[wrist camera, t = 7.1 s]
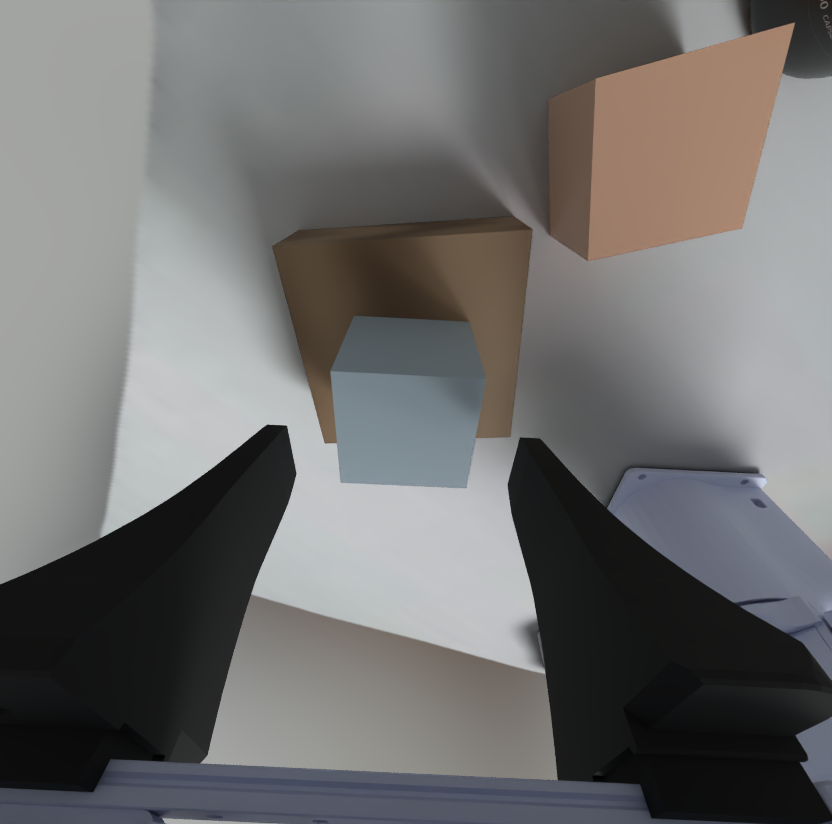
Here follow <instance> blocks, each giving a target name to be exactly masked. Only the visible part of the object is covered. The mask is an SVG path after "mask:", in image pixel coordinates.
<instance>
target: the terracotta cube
mask: <svg viewBox="0 0 832 824" xmlns="http://www.w3.org/2000/svg"><path fill="white" fill-rule="evenodd" d="M794 25H795V23H791V24H788V25H784V26H780V27H777V28H773V29H770V30H766V31H763V32H759V33H756V34H752V35H748V36H745V37H741V38H738V39H734V40H731V41H727V42H724V43H720V44H716V45H713V46H709V47H706V48H702V49H699V50H695V51H692V52H688V53H684V54H681V55H677V56H674V57H670V58H667V59H663V60H660V61H656V62H653V63H649V64H645V65H642V66H638V67H635V68H631V69H628V70H624V71H621V72H617V73H613V74H610V75H606V76H603V77H599V78H596V79H593V80H591V81H589V82H586V83H584V84H582V85H580V86H577V87H575V88H573V89H570V90H568V91H566V92H563V93H561V94H559V95H556V96H554V97H552V98H550V99H548V116H549V191H550V236H551V237H553V238H554V239H556V240H557V241H559V242H560V243H562V244H563V245H565V246H566V247H568V248H569V249H571V250H572V251H574V252H575V253H577V254H578V255H580V256H581V257H583V258H584V259H585V260H587V261H591V260H596V259H600V258H605V257H610V256H614V255H619V254H624V253H628V252H633V251H638V250H642V249H647V248H652V247H656V246H661V245H666V244H670V243H675V242H680V241H684V240H689V239H694V238H698V237H703V236H708V235H712V234H717V233H722V232H726V231H731V230H736V229H740V228H742V227H743V223H744V219H745V215H746V211H747V207H748V203H749V200H750V196H751V192H752V188H753V184H754V180H755V176H756V172H757V168H758V165H759V161H760V157H761V153H762V149H763V145H764V141H765V137H766V134H767V130H768V126H769V122H770V118H771V114H772V110H773V106H774V102H775V99H776V95H777V91H778V87H779V83H780V79H781V75H782V71H783V67H784V64H785V60H786V56H787V52H788V48H789V44H790V40H791V36H792V33H793V29H794Z"/></svg>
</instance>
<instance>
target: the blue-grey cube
mask: <svg viewBox="0 0 832 824" xmlns="http://www.w3.org/2000/svg"><path fill="white" fill-rule="evenodd" d="M330 373H331V384H332V394H333V405H334V416H335V427H336V437H337V448H338V459H339V470H340V480H341V483H360V484H382V485H404V486H426V487H448V488H467V482H468V477H469V471H470V466H471V460H472V455H473V449H474V444H475V438H476V433H477V427H478V422H479V416H480V411H481V405H482V400H483V394H484V389H485V383H486V376H485V373H484V369H483V366H482V363H481V359H480V356H479V352H478V349H477V345H476V342H475V338H474V335H473V331H472V328H471V325H470V322H463V321H445V320H426V319H407V318H389V317H370V316H354V317H353V319H352V322H351V324H350V326H349V329H348V331H347V333H346V336H345V338H344V340H343V343H342V345H341V347H340V350H339V352H338V354H337V357H336V359H335V361H334V364H333V366H332V368H331V371H330Z"/></svg>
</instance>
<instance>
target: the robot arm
mask: <svg viewBox="0 0 832 824" xmlns="http://www.w3.org/2000/svg"><path fill="white" fill-rule="evenodd" d="M295 477H296V469H295V464H294V459H293V454H292V449H291V444H290V439H289V434H288V429H287V426H283V425H266V426H265V427H264V428H262V429H261V430H260V431H258V432H257V433H256V434H255V435H253V436H252V437H251V438H250V439H249V440H247V441H246V442H245V443H244V444H242V445H241V446H240V447H239V448H238V449H236V450H235V451H234V452H233V453H231V454H230V455H229V456H227V457H226V458H225V459H224V460H222V461H221V462H220V463H219V464H217V465H216V466H215V467H213V468H212V469H211V470H209V471H208V472H207V473H205V474H204V475H202V476H201V477H200V478H198V479H197V480H196V481H194V482H193V483H191V484H190V485H189V486H187V487H186V488H185V489H183V490H182V491H180V492H179V493H177V494H176V495H174V496H173V497H171V498H170V499H168V500H167V501H165V502H163V503H162V504H160V505H159V506H157V507H155V508H154V509H152V510H150V511H149V512H147V513H146V514H144V515H142V516H140V517H139V518H137V519H135V520H133V521H132V522H130V523H128V524H126V525H124V526H122V527H121V528H119V529H117V530H115V531H113V532H111V533H109V534H108V535H106V536H104V537H102V538H100V539H98V540H97V541H95V542H93V543H91V544H89V545H87V546H85V547H83V548H81V549H79V550H76V551H75V552H73V553H70V554H68V555H66V556H64V557H62V558H60V559H58V560H56V561H53V562H51V563H49V564H47V565H45V566H42V567H40V568H38V569H36V570H33V571H31V572H29V573H27V574H24V575H22V576H20V577H17V578H15V579H12V580H10V581H8V582H5V583H3V584H0V824H165V823H164V821H163V819H162V818H173V819H193V820H194V819H195V820H214V821H237V822H258V823H279V824H832V560H831V559H830V558H829V557H828V556H827V555H826V554H825V553H824V552H823V551H822V550H821V549H820V548H819V547H818V546H817V545H816V544H815V543H814V542H813V541H812V540H811V539H810V538H809V537H808V536H807V535H806V534H805V533H804V532H803V531H802V530H801V529H800V528H799V527H798V526H797V525H796V524H795V523H794V522H793V521H792V520H791V519H790V518H789V517H788V516H787V515H786V514H785V513H784V512H783V511H782V510H781V509H780V508H779V507H778V506H777V505H776V504H775V503H774V502H773V501H772V500H771V499H770V498H769V497H768V496H767V495H766V494H765V493H764V492H763V491H762V490H761V489H762V487H763V486H764V485H765V484H766V482H767V478H766V477H765V476H763V475H762V474H751V473H730V472H710V471H690V470H670V469H649V468H631V469H629V470H627V471H626V473H625V474H624V476H623V478H622V480H621V482H620V484H619V486H618V488H617V490H616V492H615V494H614V496H613V498H612V500H611V502H610V504H609V505H608V507H607V508H606V507H605V506H604V505H603V504H601V503H600V502H599V501H598V500H597V499H596V498H595V497H594V496H593V495H592V494H591V493H590V492H589V491H588V490H587V489H586V488H585V487H584V486H583V485H582V484H581V483H580V482H579V481H578V480H577V479H576V478H575V476H574V475H573V474H572V473H571V472H570V471H569V470H568V469H567V468H566V467H565V466H564V465H563V463H562V462H561V461H560V460H559V459H558V458H557V457H556V456H555V455H554V453H553V452H552V451H551V450H550V449H549V448H548V447H547V446H546V445H545V443H544V442H543V441H542V440H541V439H539V438H520V440H519V444H518V447H517V451H516V455H515V459H514V462H513V466H512V470H511V474H510V478H509V481H508V491H509V499H510V506H511V513H512V517H513V521H514V525H515V528H516V532H517V536H518V540H519V543H520V547H521V551H522V554H523V558H524V561H525V565H526V569H527V572H528V576H529V580H530V584H531V588H532V592H533V597H534V602H535V608H536V614H537V620H538V626H539V632H540V638H541V645H542V652H543V658H544V665H545V672H546V679H547V687H548V695H549V703H550V710H551V719H552V728H553V737H554V746H555V756H556V765H557V766H556V767H557V777H558V780H538V779H517V778H496V777H475V776H454V775H432V774H412V773H390V772H369V771H348V770H326V769H306V768H284V767H264V766H242V765H221V764H200V763H201V762H202V761H203V760H204V758H205V757H206V756H207V755H208V750H209V746H210V741H211V738H212V733H213V729H214V725H215V721H216V717H217V712H218V709H219V705H220V701H221V696H222V693H223V689H224V685H225V682H226V678H227V674H228V670H229V667H230V663H231V659H232V656H233V652H234V649H235V645H236V642H237V638H238V635H239V632H240V628H241V625H242V621H243V618H244V614H245V612H246V608H247V605H248V602H249V599H250V596H251V593H252V590H253V586H254V583H255V581H256V578H257V576H258V573H259V570H260V568H261V565H262V563H263V561H264V559H265V556H266V554H267V552H268V549H269V547H270V545H271V542H272V540H273V538H274V535H275V533H276V531H277V529H278V526H279V524H280V522H281V519H282V517H283V514H284V512H285V510H286V507H287V505H288V502H289V499H290V495H291V492H292V489H293V485H294V481H295Z"/></svg>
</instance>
